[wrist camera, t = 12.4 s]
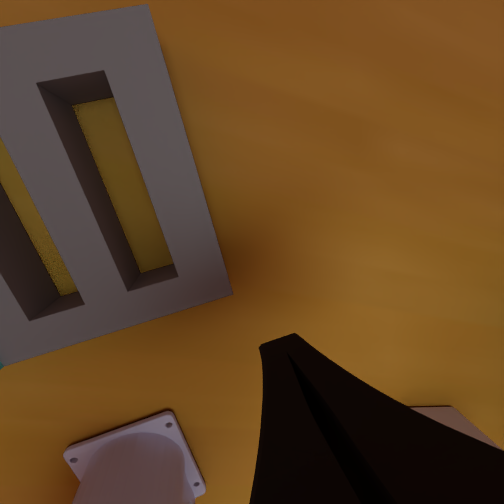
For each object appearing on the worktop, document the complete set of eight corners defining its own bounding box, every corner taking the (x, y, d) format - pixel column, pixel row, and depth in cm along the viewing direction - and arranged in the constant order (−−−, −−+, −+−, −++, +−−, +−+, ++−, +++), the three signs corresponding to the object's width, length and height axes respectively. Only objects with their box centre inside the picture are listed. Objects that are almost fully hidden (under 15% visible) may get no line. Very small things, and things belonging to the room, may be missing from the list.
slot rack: (227, 276, 17) (233, 296, 14) (-59, 363, 15) (-127, 410, 12) (159, 43, 13) (146, -2, 10) (-250, 115, 11) (-429, 87, 8)
